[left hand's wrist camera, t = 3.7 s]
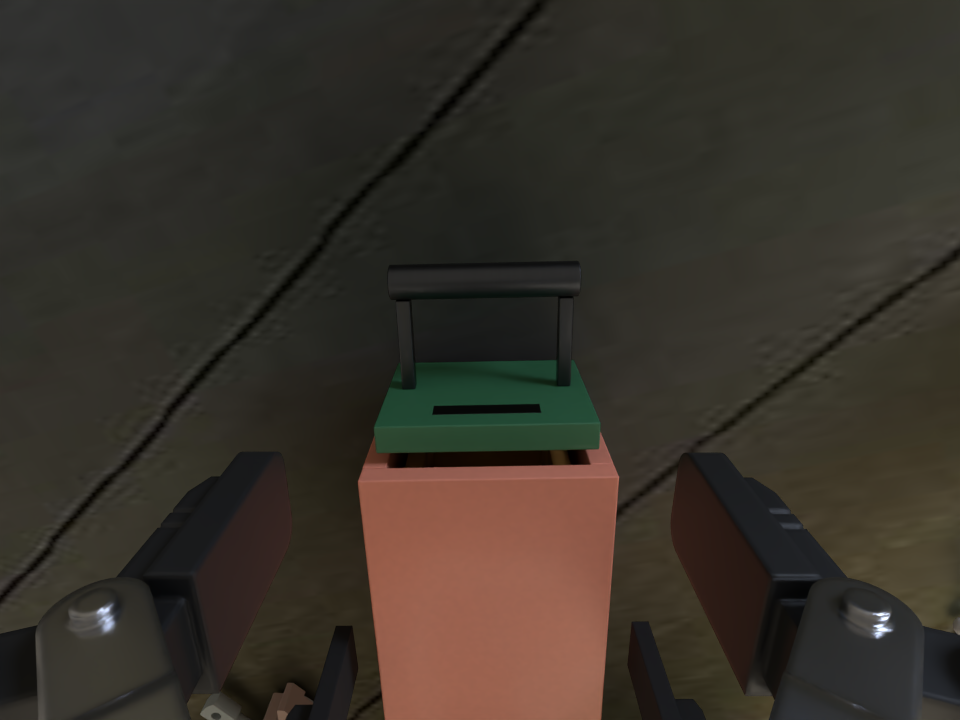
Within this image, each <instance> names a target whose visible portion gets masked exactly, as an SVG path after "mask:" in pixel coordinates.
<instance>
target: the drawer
mask: <svg viewBox="0 0 960 720" xmlns="http://www.w3.org/2000/svg"><path fill="white" fill-rule="evenodd" d="M387 282H388V292H389V297H390V299H391V300H396V314H397V327H398V340H399V353H400V363H399V364H398V366H397V368H396V371H395V373H394V376H393V379H392V381H391V384H390V386H389V389H388V392H387V394H386V397H385V400H384V402H383V405H382V407H381V410H380V413H379V415H378V418H377V420H376V423H375V426H374V436H375V447H376V453H408V457H407V461H406V465H405V468H434V467H491V466H548V465H571V463H570V459H569V456H568V452H567V450H594V449H599V445H600V428H601V423H600V421H599V418H598V416H597V414H596V411H595V409H594V407H593V404H592V402H591V400H590V397H589V395H588V393H587V390H586V388H585V385H584V383H583V381H582V378H581V376H580V374H579V371H578V369H577V367H576V364H575V362H574V360H571V359H572V332H573V305H574V298H573V296H578V295H579V293H580V288H581V268H580V263H579V261H552V262H506V263H459V264H413V265H389V268H388V275H387ZM511 297H558V319H557V356H556V360H539V361H488V362H438V363H415V350H414V335H413V320H412V305H411V300H416V299H463V298H511Z"/></svg>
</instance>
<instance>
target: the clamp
mask: <svg viewBox="0 0 960 720" xmlns="http://www.w3.org/2000/svg"><path fill="white" fill-rule="evenodd" d="M304 694H305V691H304V690H302V689H301V688H300V687H298V686H297V685H296V684H294V683H287V685H286V688H285V691H284V693H273V696H272V698H271V701H270V704H269V706H268V709H267V711H266V714H265V717H264V719H263V720H285V719H286V716H287V715H288V714H289V712H290V711H291V710H292V708H293V707H294V706H295V705H313V702H314V701H312V700H311V699H309V698H308V697H306V696H304ZM240 711H241V706H240V705H239V704H238V703H236V702H235V701H233V700H232V699H230V698H229V697H228V696H226V695H225V694H223V693H222V692H220V693H219V694H212V695H211V696H210V697H209V698H208V699H207V701H206V703H205V705H204V707H203V709H202V711H201V713H200V715H201V716H203V717H204V718H206V719H207V720H251V719H249V718H248V717H246V716H245V715H244V714H242V713H241V712H240Z"/></svg>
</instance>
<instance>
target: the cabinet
mask: <svg viewBox="0 0 960 720" xmlns="http://www.w3.org/2000/svg"><path fill="white" fill-rule="evenodd" d="M567 452H568V456H569V459H570V463H571V465H548V466H491V467H434V468H405V465H406V461H407V457H408V453H376V447H375V436H374V438H373V441H372V444H371V446H370V449H369V452H368V455H367V457H366V460H365V463H364V465H363V468H362V472H361V474H360V477H359V480H358V489H359V498H360V506H361V515H362V524H363V533H364V541H365V550H366V559H367V568H368V576H369V585H370V594H371V603H372V611H373V620H374V629H375V638H376V646H377V655H378V664H379V673H380V681H381V690H382V699H383V708H384V716H385V720H601V714H602V700H603V686H604V673H605V659H606V646H607V632H608V619H609V605H610V592H611V578H612V565H613V551H614V538H615V524H616V511H617V497H618V484H619V476H618V474H617V471H616V469H615V467H614V464H613V461H612V459H611V457H610V454H609V452H608V449H607V447H606V444H605V442H604V440H603V437H602V435H601V432H600V445H599V449H594V450H567Z"/></svg>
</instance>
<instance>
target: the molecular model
mask: <svg viewBox="0 0 960 720" xmlns="http://www.w3.org/2000/svg"><path fill="white" fill-rule="evenodd" d="M953 628H954V630H955V632H956V633H957V634H959V635H960V617H958V618H956V619H955V620H954V621H953Z"/></svg>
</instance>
